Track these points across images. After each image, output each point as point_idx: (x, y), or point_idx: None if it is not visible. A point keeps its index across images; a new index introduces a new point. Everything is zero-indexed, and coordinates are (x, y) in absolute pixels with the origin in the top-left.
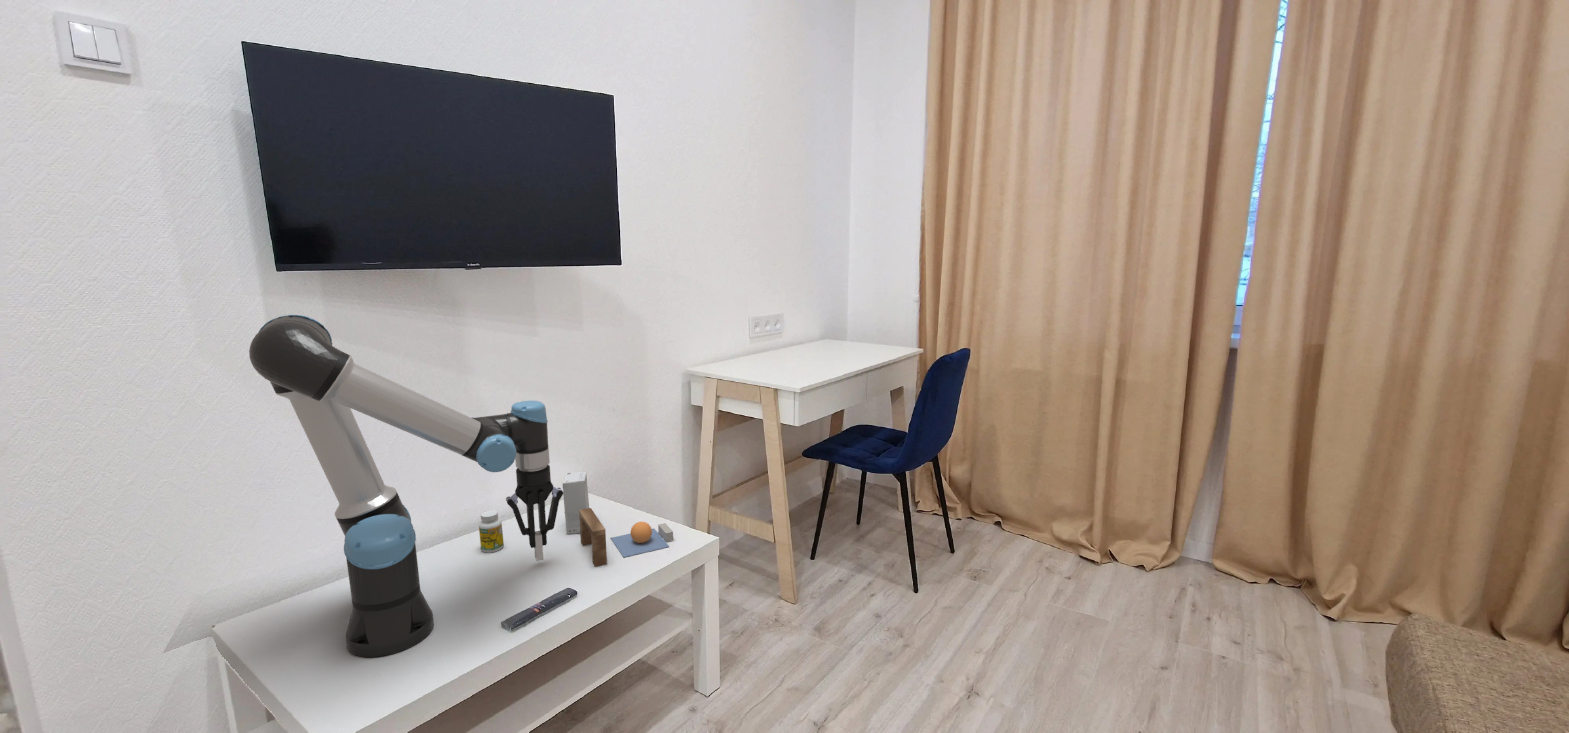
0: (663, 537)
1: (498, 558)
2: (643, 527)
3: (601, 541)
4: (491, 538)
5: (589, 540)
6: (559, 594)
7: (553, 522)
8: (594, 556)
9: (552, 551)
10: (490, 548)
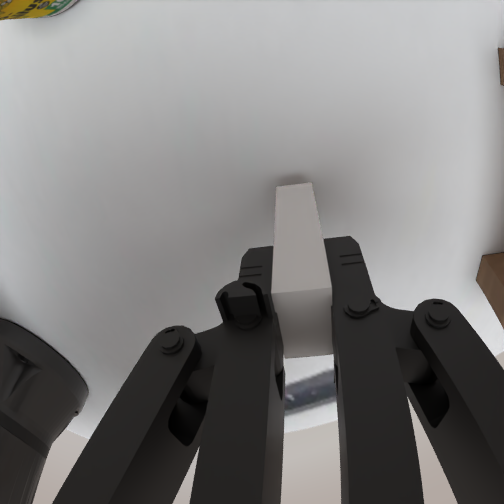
0: None
1: (93, 69)
2: None
3: None
4: (13, 12)
5: None
6: None
7: (446, 406)
8: (493, 309)
9: (369, 63)
10: (43, 14)
